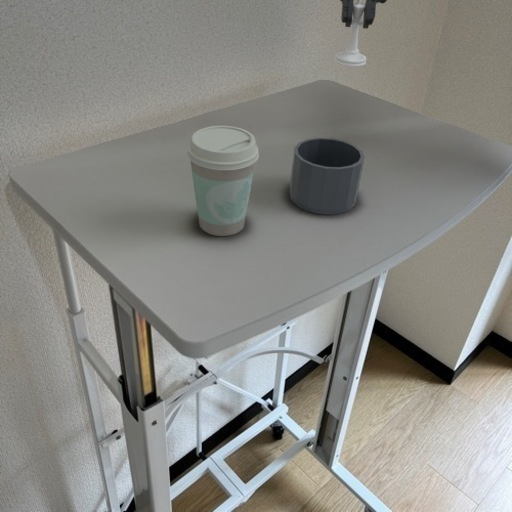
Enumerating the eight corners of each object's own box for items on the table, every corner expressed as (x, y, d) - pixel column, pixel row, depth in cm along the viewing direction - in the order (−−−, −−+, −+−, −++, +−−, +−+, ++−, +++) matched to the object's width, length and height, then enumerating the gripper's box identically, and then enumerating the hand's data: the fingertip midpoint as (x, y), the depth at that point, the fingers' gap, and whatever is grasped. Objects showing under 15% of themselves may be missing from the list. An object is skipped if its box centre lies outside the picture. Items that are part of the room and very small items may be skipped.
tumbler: (350, 182, 82) (358, 139, 78) (360, 216, 75) (369, 170, 71) (288, 179, 82) (292, 136, 78) (291, 213, 75) (296, 167, 70)
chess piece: (329, 56, 86) (339, -14, 80) (358, 55, 87) (370, -14, 81) (340, 66, 82) (351, -6, 76) (371, 66, 83) (384, -6, 77)
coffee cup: (193, 245, 67) (191, 156, 60) (185, 209, 74) (182, 125, 67) (261, 239, 69) (267, 152, 62) (247, 204, 76) (251, 122, 69)
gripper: (321, -107, 78) (312, 6, 76) (418, -100, 78) (412, 13, 75) (316, -69, 86) (307, 35, 83) (405, -63, 85) (399, 42, 83)
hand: (357, 24), depth 79 cm, fingers closed on chess piece
